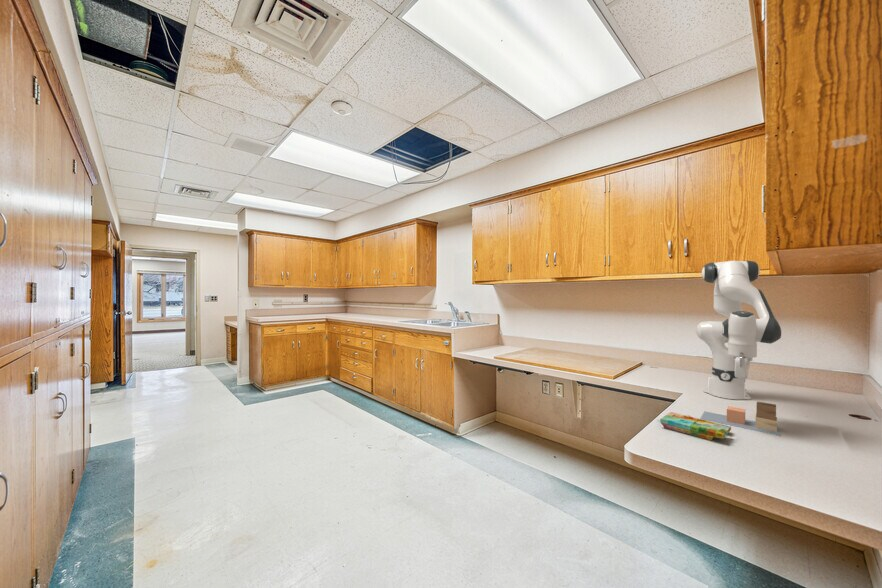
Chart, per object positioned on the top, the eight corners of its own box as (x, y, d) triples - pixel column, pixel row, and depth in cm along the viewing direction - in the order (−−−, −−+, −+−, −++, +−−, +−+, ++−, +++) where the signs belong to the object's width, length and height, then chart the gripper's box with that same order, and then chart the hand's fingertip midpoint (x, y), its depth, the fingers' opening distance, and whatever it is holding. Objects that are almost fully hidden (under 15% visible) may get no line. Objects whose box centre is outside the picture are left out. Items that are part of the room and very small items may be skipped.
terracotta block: (727, 417, 144) (727, 405, 144) (745, 421, 140) (745, 409, 140) (726, 421, 140) (726, 409, 140) (744, 424, 136) (744, 412, 136)
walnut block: (756, 413, 137) (757, 401, 137) (775, 417, 134) (776, 404, 134) (756, 417, 133) (756, 404, 133) (776, 420, 130) (776, 407, 130)
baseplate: (704, 413, 151) (704, 411, 151) (780, 429, 135) (780, 426, 135) (699, 421, 142) (699, 419, 142) (780, 439, 125) (780, 436, 125)
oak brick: (756, 423, 138) (756, 413, 138) (776, 427, 133) (776, 417, 133) (755, 427, 133) (755, 417, 133) (776, 431, 129) (777, 421, 129)
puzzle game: (669, 410, 143) (731, 424, 128) (669, 421, 144) (730, 436, 128) (660, 416, 136) (724, 432, 121) (660, 428, 136) (724, 445, 121)
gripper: (751, 356, 129) (751, 392, 129) (753, 348, 143) (752, 381, 144) (730, 354, 133) (729, 389, 133) (733, 347, 148) (733, 378, 148)
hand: (741, 384), depth 139 cm, fingers open, 8 cm apart
